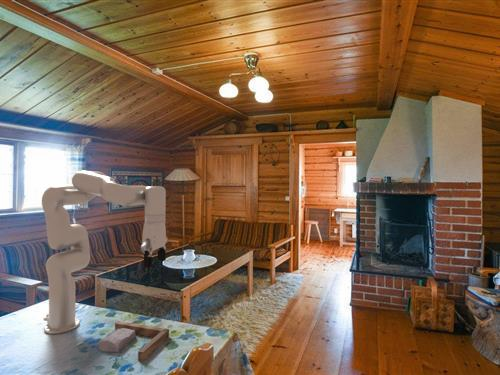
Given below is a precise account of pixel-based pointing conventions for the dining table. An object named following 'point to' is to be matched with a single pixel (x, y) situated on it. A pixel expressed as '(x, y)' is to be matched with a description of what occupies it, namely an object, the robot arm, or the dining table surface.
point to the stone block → (116, 340)
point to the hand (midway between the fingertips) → (155, 263)
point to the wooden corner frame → (155, 332)
